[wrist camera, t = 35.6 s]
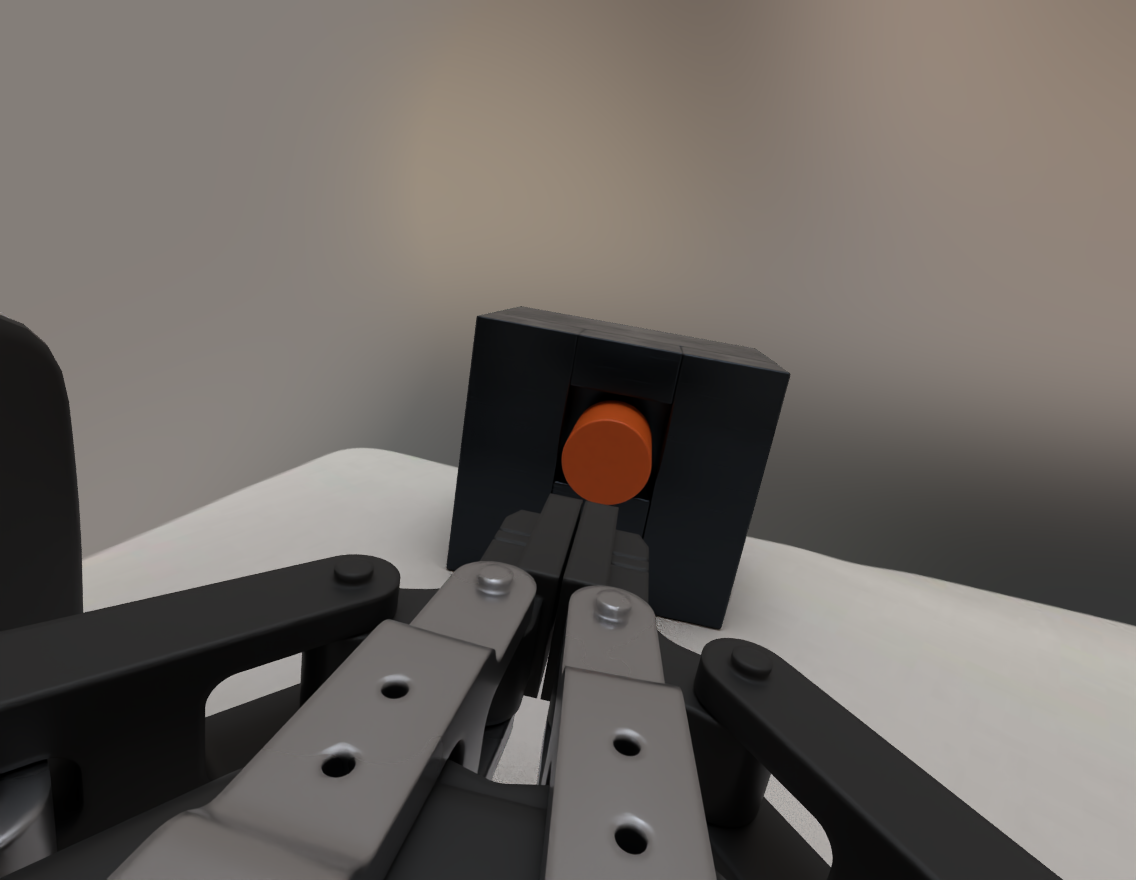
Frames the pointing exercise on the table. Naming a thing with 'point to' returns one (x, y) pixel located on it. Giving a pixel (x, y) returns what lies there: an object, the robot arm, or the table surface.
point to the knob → (608, 453)
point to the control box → (679, 441)
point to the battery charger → (36, 485)
